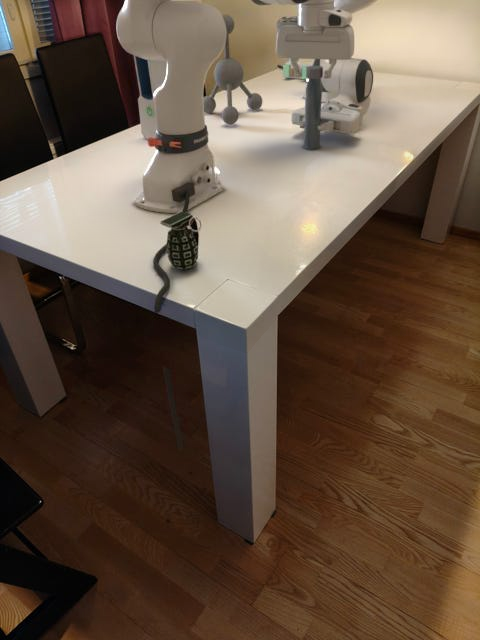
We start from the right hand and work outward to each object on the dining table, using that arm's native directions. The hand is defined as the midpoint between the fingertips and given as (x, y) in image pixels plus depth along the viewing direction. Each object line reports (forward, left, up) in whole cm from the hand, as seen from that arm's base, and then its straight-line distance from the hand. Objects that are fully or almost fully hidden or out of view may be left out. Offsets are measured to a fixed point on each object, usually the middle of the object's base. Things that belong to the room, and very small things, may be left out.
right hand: (310, 127), depth 136 cm
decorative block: (-94, -12, -6) cm, 95 cm away
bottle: (-1, 0, -6) cm, 6 cm away
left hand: (-1, 0, +12) cm, 12 cm away
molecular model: (-31, -29, -6) cm, 43 cm away
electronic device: (-5, -47, -6) cm, 47 cm away
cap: (-1, 0, +15) cm, 15 cm away
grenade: (+67, -15, -6) cm, 69 cm away
